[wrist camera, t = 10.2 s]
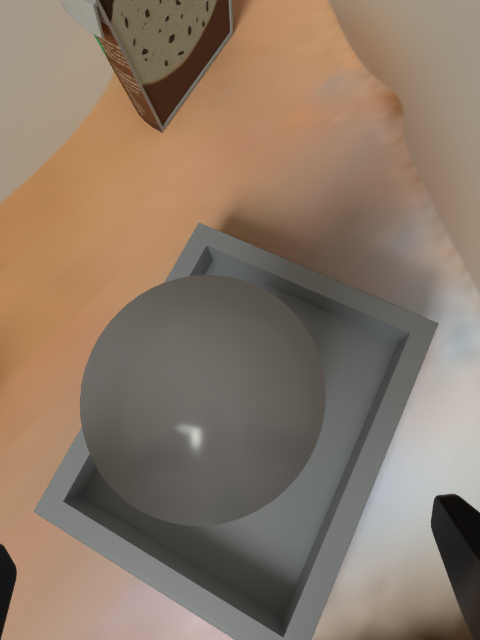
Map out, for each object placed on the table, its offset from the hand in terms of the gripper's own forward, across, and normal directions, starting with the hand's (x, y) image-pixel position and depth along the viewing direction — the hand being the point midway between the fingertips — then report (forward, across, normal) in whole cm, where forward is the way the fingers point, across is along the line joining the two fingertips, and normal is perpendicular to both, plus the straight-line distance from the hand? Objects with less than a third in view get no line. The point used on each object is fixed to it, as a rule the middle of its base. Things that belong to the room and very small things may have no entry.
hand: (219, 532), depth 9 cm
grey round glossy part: (+11, 0, +6) cm, 13 cm away
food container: (+29, +3, -10) cm, 31 cm away
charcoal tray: (+12, 0, +7) cm, 14 cm away
